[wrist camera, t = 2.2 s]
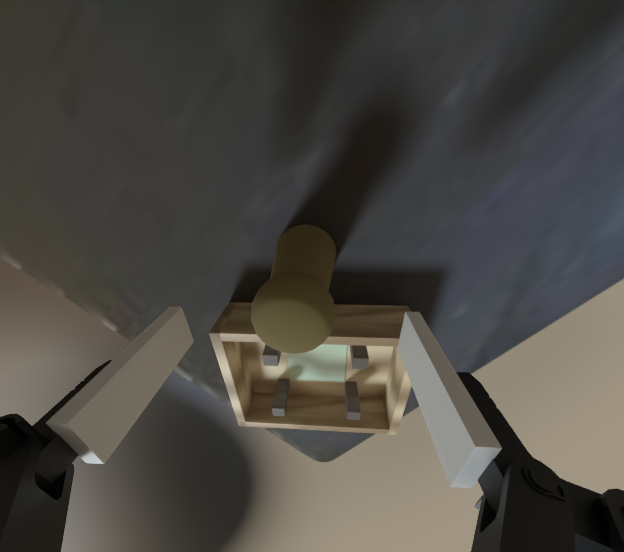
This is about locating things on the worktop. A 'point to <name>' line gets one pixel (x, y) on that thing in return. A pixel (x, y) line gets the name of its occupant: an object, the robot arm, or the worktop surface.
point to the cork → (297, 292)
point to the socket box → (317, 373)
